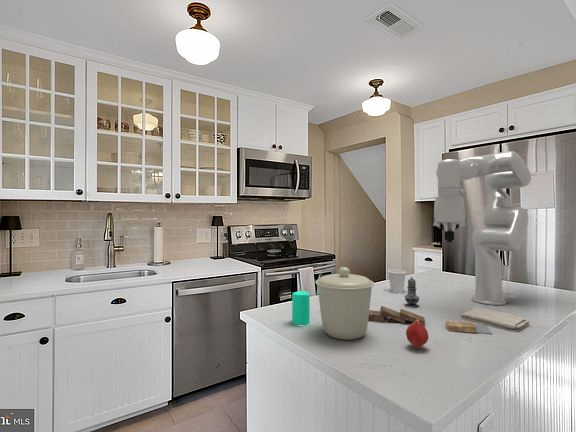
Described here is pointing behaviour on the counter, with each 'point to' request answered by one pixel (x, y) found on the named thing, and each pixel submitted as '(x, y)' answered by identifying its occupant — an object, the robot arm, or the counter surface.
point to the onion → (417, 334)
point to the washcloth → (496, 319)
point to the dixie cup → (397, 280)
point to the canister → (344, 304)
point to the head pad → (482, 329)
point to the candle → (300, 308)
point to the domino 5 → (461, 326)
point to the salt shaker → (411, 294)
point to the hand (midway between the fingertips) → (449, 241)
